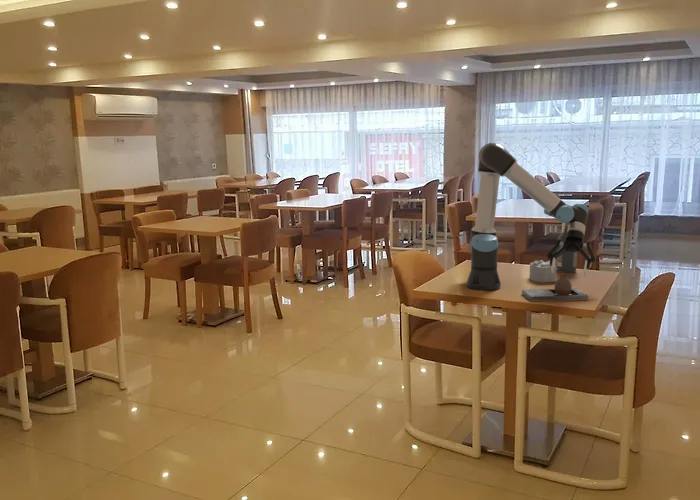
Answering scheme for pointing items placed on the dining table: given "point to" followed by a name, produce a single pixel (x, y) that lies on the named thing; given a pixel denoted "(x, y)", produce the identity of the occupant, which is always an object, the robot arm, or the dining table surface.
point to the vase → (563, 286)
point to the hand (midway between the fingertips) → (568, 273)
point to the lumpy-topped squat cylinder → (542, 271)
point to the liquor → (566, 256)
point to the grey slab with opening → (553, 295)
